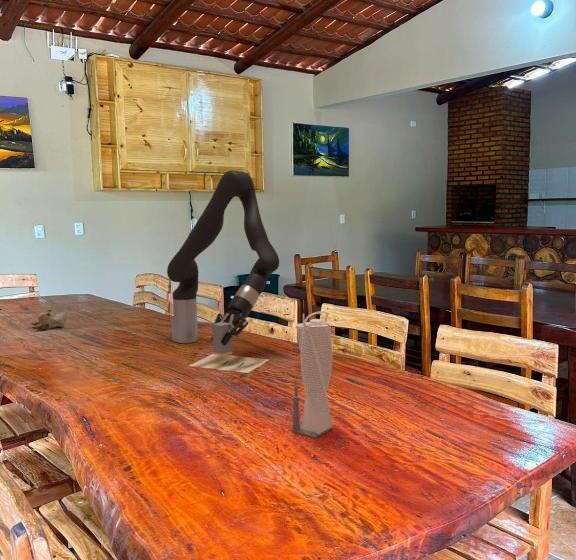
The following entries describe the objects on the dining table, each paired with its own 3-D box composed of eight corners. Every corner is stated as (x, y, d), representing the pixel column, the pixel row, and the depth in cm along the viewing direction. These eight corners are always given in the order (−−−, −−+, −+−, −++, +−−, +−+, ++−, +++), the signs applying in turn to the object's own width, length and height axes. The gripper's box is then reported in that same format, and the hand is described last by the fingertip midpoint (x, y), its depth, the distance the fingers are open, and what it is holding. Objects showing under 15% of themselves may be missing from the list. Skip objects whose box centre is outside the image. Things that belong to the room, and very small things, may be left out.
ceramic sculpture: (67, 309, 240) (30, 314, 233) (69, 328, 241) (33, 334, 235) (64, 305, 249) (29, 311, 243) (67, 324, 251) (31, 329, 244)
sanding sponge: (213, 353, 179) (211, 324, 177) (223, 351, 182) (222, 321, 180) (221, 356, 175) (220, 325, 174) (232, 353, 179) (231, 323, 177)
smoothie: (292, 351, 198) (292, 314, 196) (300, 347, 203) (300, 311, 201) (308, 353, 195) (308, 315, 193) (316, 349, 200) (315, 312, 198)
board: (188, 370, 176) (187, 365, 176) (213, 357, 191) (212, 353, 191) (248, 377, 168) (248, 372, 168) (269, 363, 183) (269, 359, 182)
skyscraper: (312, 420, 134) (311, 308, 130) (339, 428, 129) (339, 312, 125) (291, 431, 127) (289, 314, 124) (318, 439, 122) (318, 318, 118)
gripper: (223, 292, 186) (197, 333, 179) (252, 296, 177) (225, 339, 170) (235, 305, 191) (210, 345, 184) (264, 310, 181) (238, 352, 174)
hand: (217, 342), depth 177 cm, fingers closed on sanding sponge, 4 cm apart
